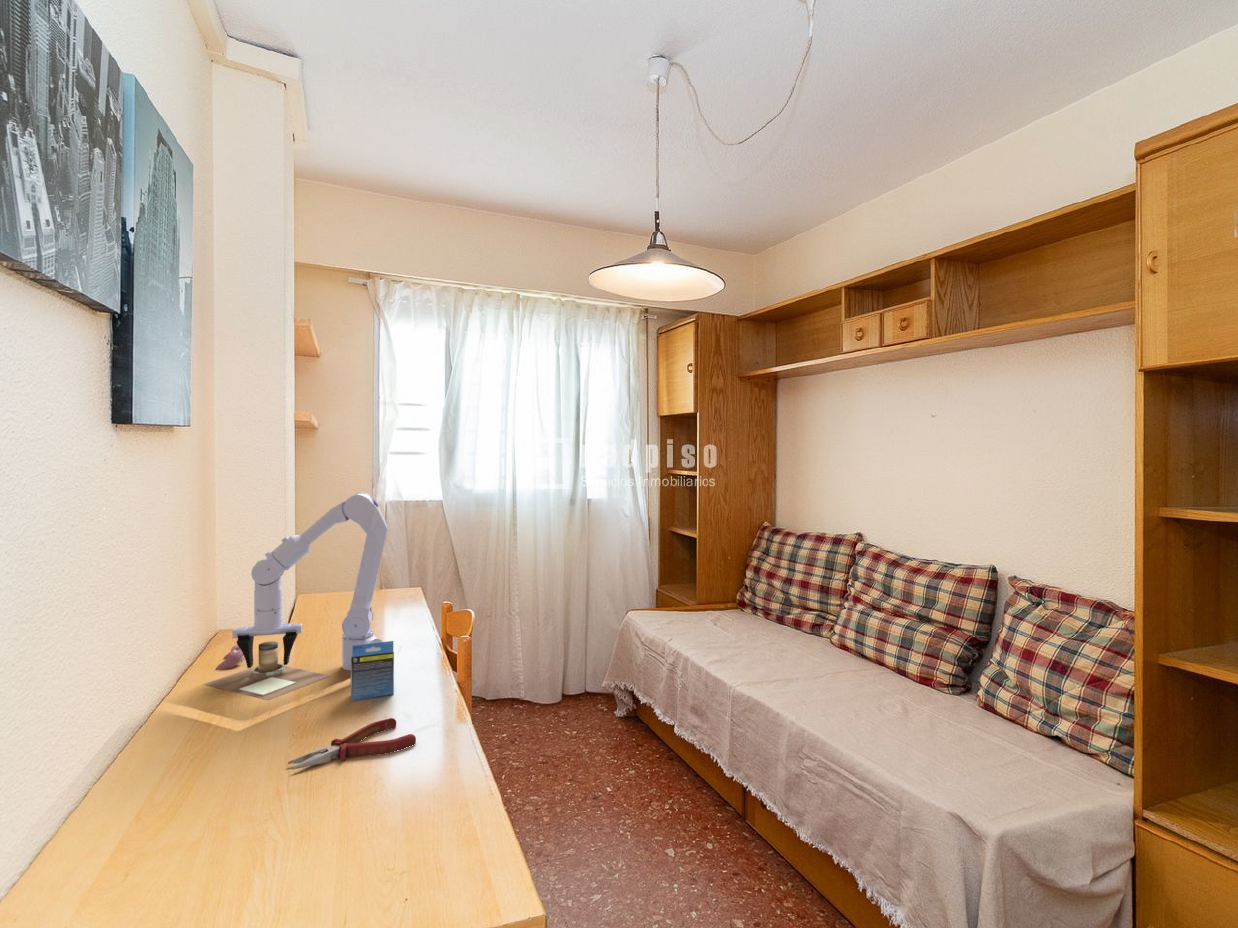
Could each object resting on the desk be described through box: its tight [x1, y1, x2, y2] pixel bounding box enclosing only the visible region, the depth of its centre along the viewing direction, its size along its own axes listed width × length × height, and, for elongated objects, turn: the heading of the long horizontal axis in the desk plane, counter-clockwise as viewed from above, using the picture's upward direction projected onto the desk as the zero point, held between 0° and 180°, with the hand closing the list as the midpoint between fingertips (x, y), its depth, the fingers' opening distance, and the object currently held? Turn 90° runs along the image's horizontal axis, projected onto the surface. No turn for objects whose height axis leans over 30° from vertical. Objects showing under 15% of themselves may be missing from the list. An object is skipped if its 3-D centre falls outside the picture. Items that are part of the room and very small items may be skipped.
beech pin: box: [258, 641, 279, 672], centre depth 146 cm, size 4×4×7 cm
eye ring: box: [251, 662, 286, 679], centre depth 146 cm, size 7×7×1 cm
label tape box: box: [350, 640, 395, 702], centre depth 137 cm, size 9×4×12 cm, turn 115°
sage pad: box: [239, 677, 296, 696], centre depth 137 cm, size 8×8×1 cm
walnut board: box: [202, 665, 332, 701], centre depth 142 cm, size 22×16×2 cm
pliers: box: [287, 717, 417, 770], centre depth 111 cm, size 12×20×3 cm, turn 132°
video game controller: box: [215, 644, 245, 671], centre depth 154 cm, size 10×5×7 cm, turn 22°
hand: (268, 665), depth 146 cm, fingers open, 7 cm apart
